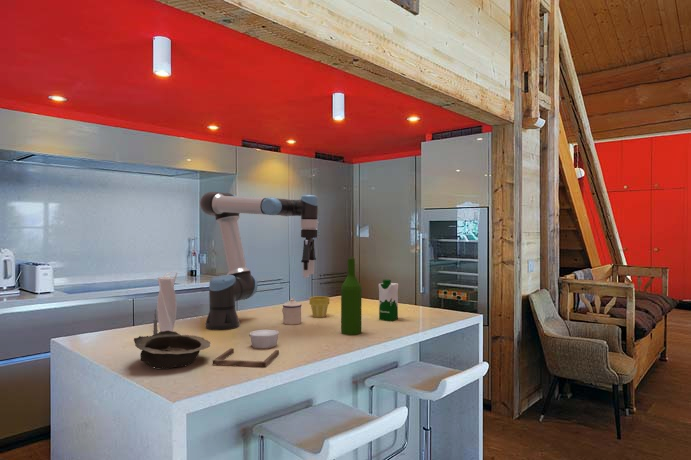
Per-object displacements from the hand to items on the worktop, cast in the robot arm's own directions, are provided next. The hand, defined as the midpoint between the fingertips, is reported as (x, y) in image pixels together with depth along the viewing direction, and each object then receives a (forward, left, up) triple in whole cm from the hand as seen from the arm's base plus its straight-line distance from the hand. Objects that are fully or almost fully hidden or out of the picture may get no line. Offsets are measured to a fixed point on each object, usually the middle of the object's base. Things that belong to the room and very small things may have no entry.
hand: (308, 275), depth 204 cm
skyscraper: (-54, -27, -25) cm, 65 cm away
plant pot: (-1, +29, -24) cm, 38 cm away
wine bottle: (+20, -5, -24) cm, 32 cm away
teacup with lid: (-12, +12, -24) cm, 30 cm away
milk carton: (+35, +26, -24) cm, 50 cm away
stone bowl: (-35, -56, -25) cm, 71 cm away
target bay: (-11, -49, -24) cm, 56 cm away
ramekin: (-11, -31, -25) cm, 41 cm away
